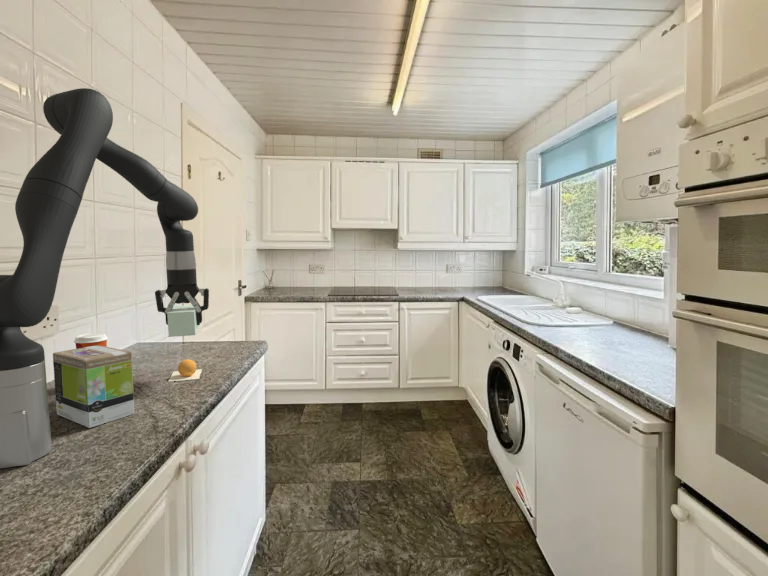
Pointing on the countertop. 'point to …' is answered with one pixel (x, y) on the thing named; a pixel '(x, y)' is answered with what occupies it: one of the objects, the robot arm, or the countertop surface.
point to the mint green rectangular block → (182, 321)
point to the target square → (178, 377)
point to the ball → (187, 367)
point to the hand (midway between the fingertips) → (184, 325)
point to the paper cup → (91, 340)
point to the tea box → (93, 384)
